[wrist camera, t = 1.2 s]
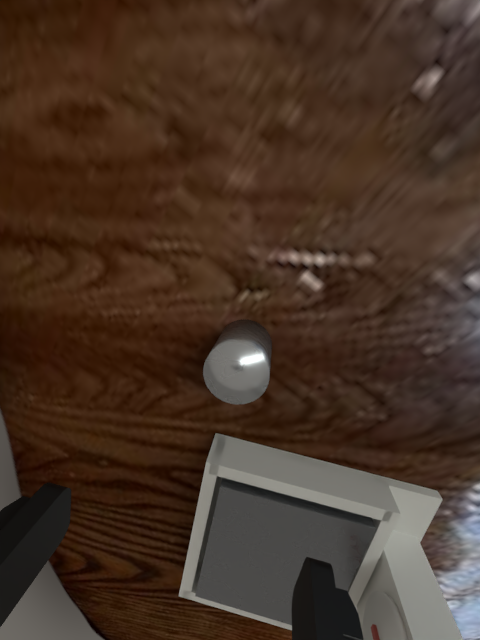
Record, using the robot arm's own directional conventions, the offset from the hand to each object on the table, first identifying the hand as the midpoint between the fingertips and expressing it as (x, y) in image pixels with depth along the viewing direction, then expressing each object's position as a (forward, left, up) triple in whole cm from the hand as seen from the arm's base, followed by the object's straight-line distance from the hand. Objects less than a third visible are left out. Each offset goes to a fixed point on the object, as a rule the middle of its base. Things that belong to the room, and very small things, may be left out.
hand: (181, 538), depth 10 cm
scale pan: (-8, +19, -15) cm, 25 cm away
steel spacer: (0, 0, -18) cm, 18 cm away
